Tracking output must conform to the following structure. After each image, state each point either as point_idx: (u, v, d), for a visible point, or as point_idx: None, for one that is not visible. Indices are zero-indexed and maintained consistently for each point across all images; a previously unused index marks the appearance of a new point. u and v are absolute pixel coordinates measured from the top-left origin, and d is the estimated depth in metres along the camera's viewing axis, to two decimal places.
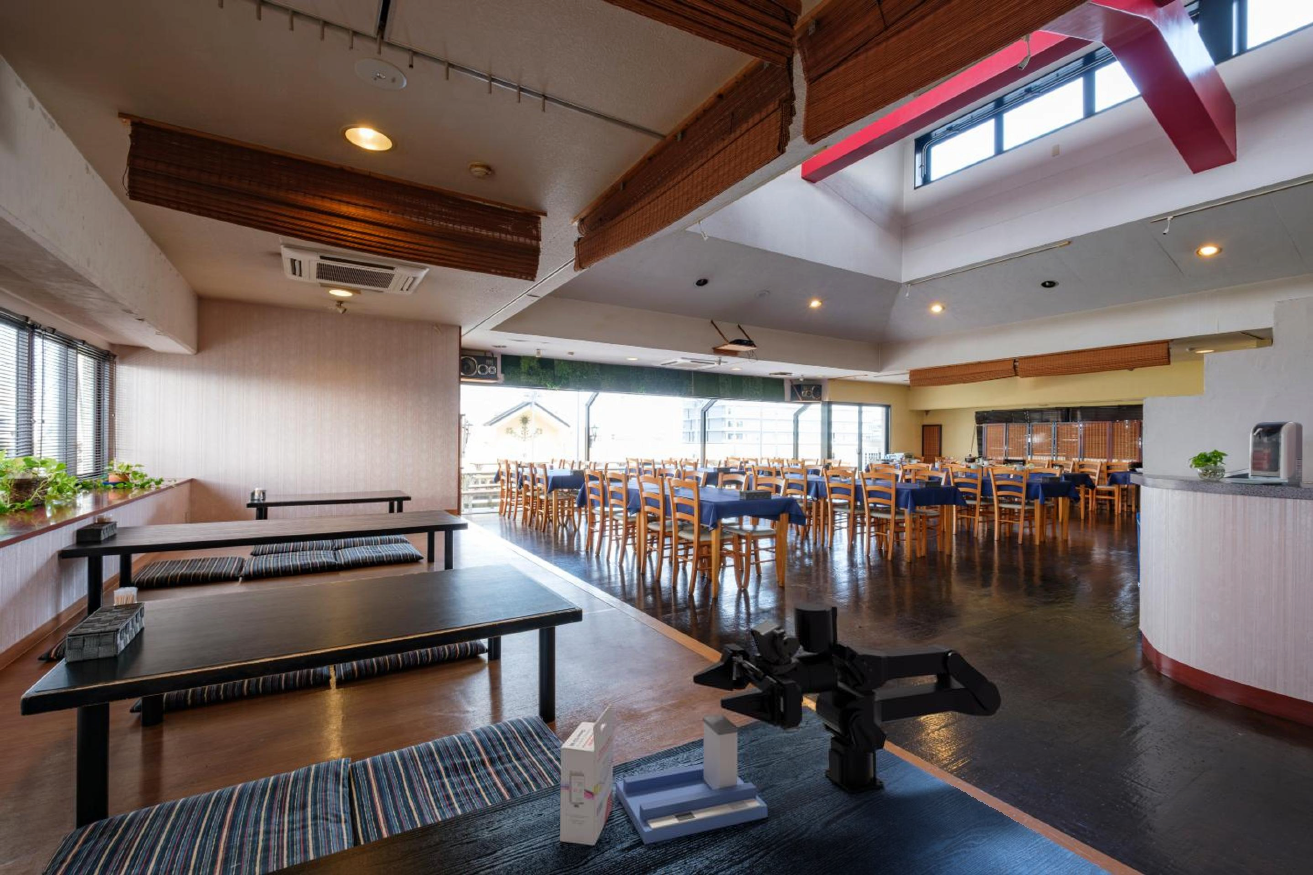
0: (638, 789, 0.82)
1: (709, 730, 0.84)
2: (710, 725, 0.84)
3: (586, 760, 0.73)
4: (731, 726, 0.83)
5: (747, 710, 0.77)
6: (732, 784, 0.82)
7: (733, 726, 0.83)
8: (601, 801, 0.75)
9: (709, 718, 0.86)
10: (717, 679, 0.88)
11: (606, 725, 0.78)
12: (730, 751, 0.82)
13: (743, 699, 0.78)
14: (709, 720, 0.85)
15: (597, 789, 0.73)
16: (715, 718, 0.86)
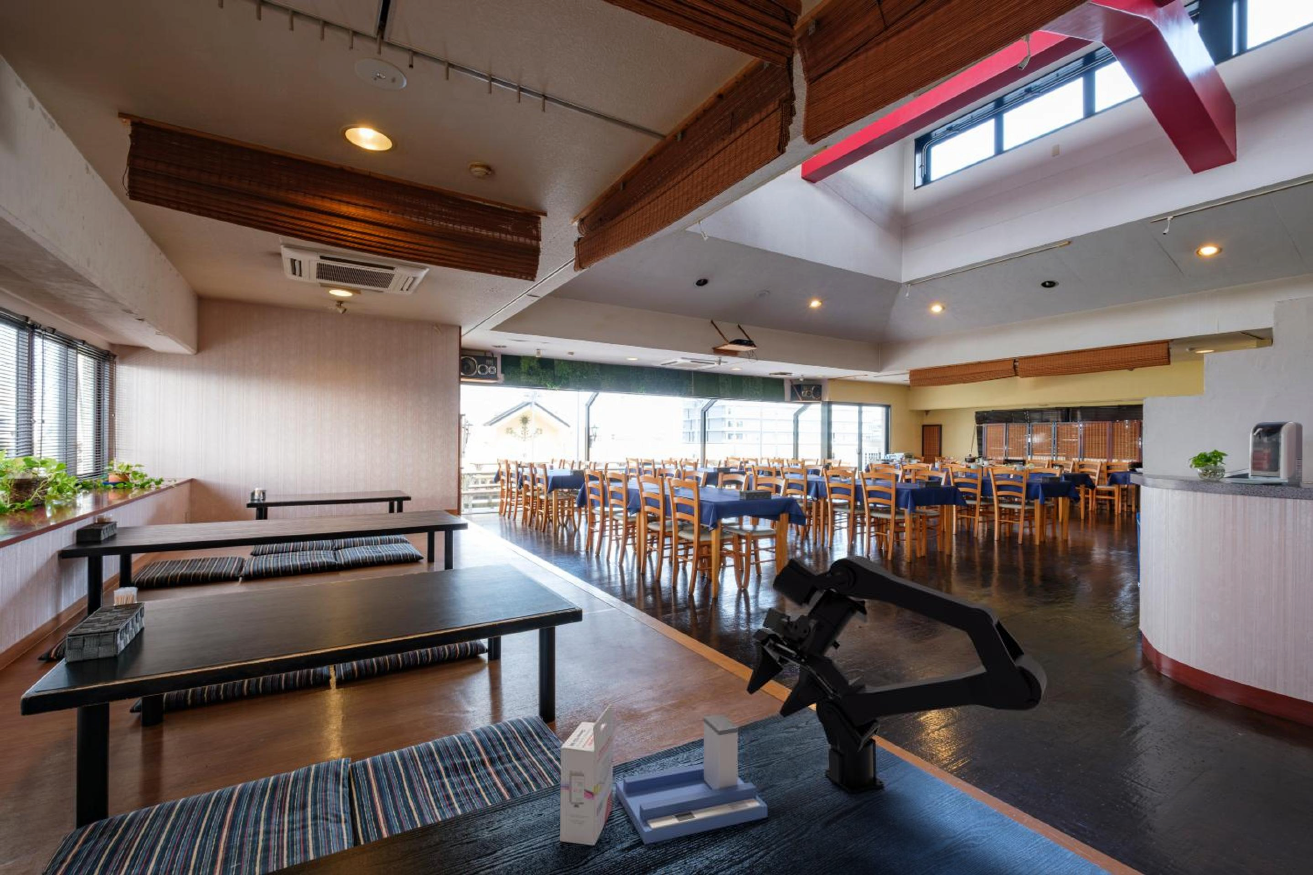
0: (638, 789, 0.82)
1: (709, 730, 0.84)
2: (710, 725, 0.84)
3: (586, 760, 0.73)
4: (731, 726, 0.83)
5: (804, 703, 0.83)
6: (732, 784, 0.82)
7: (733, 726, 0.83)
8: (601, 801, 0.75)
9: (709, 718, 0.86)
10: (766, 674, 0.93)
11: (606, 725, 0.78)
12: (730, 751, 0.82)
13: (795, 699, 0.83)
14: (709, 720, 0.85)
15: (597, 789, 0.73)
16: (715, 718, 0.86)
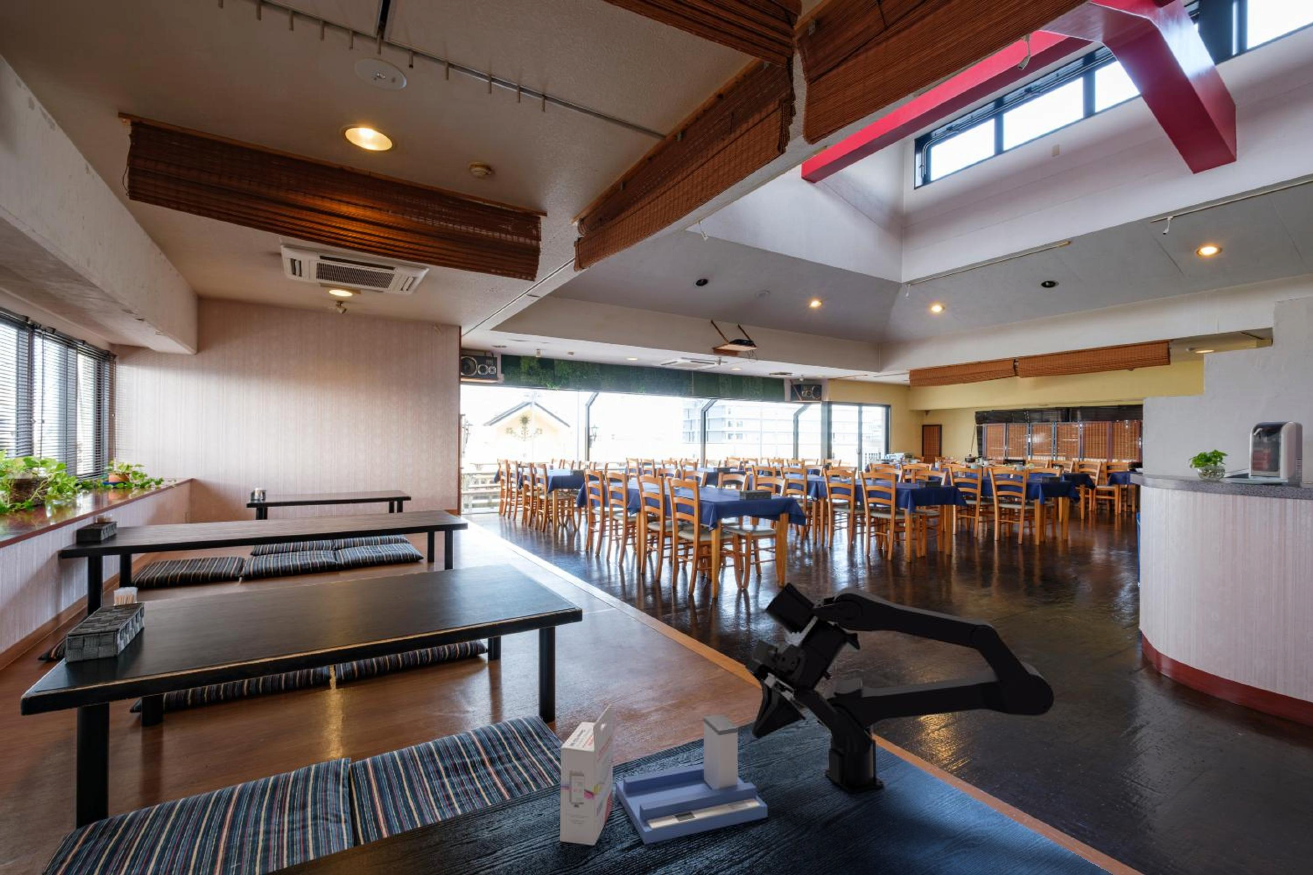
0: (638, 789, 0.82)
1: (709, 730, 0.84)
2: (710, 725, 0.84)
3: (586, 760, 0.73)
4: (731, 726, 0.83)
5: (777, 725, 0.87)
6: (732, 784, 0.82)
7: (733, 726, 0.83)
8: (601, 801, 0.75)
9: (709, 718, 0.86)
10: None
11: (606, 725, 0.78)
12: (730, 751, 0.82)
13: (768, 721, 0.86)
14: (709, 720, 0.85)
15: (597, 789, 0.73)
16: (715, 718, 0.86)
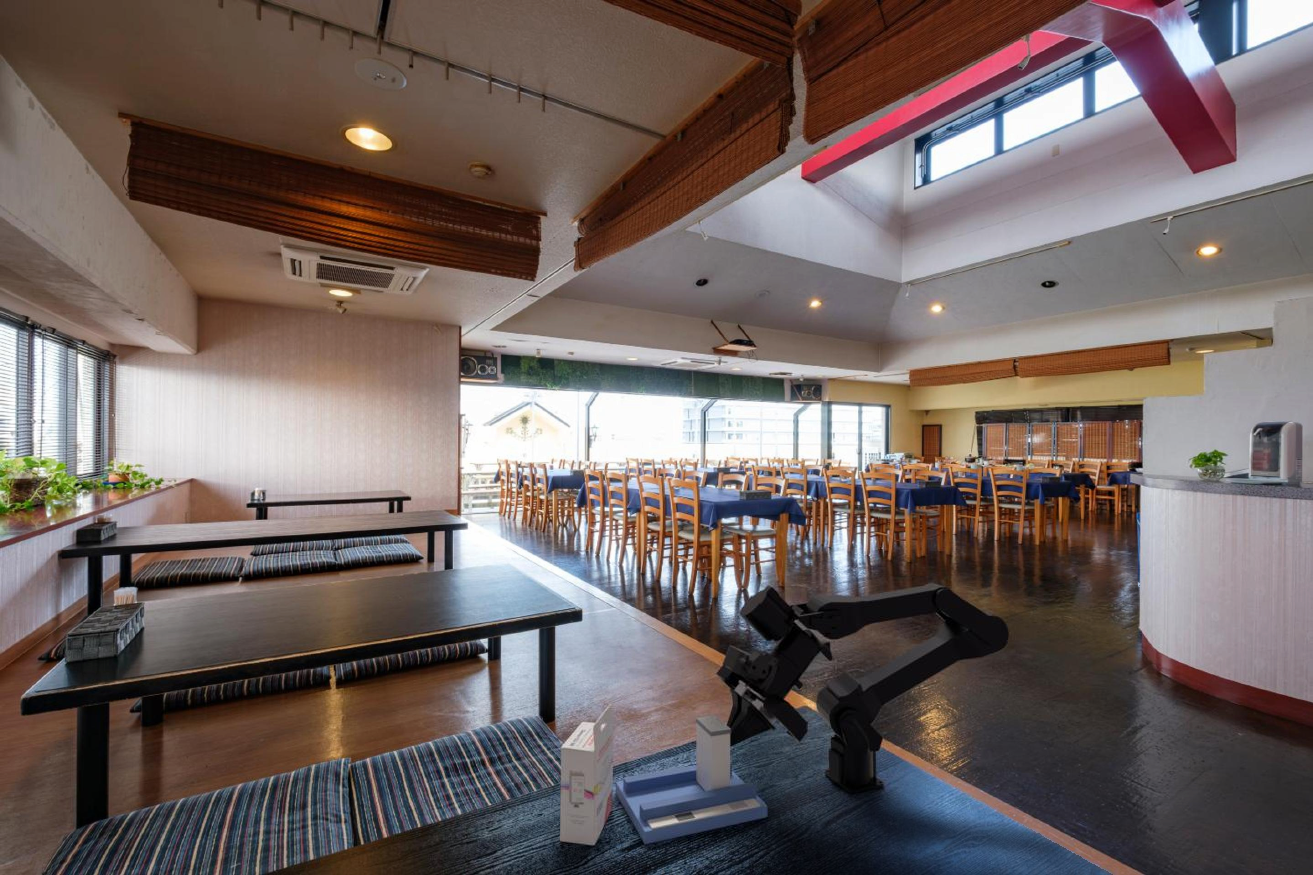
0: (638, 789, 0.82)
1: (702, 731, 0.84)
2: (703, 726, 0.83)
3: (586, 760, 0.73)
4: (723, 727, 0.82)
5: (746, 734, 0.84)
6: (725, 785, 0.81)
7: (725, 727, 0.83)
8: (601, 801, 0.75)
9: (702, 719, 0.85)
10: None
11: (606, 725, 0.78)
12: (723, 752, 0.82)
13: (737, 730, 0.84)
14: (701, 721, 0.84)
15: (597, 789, 0.73)
16: (708, 719, 0.85)
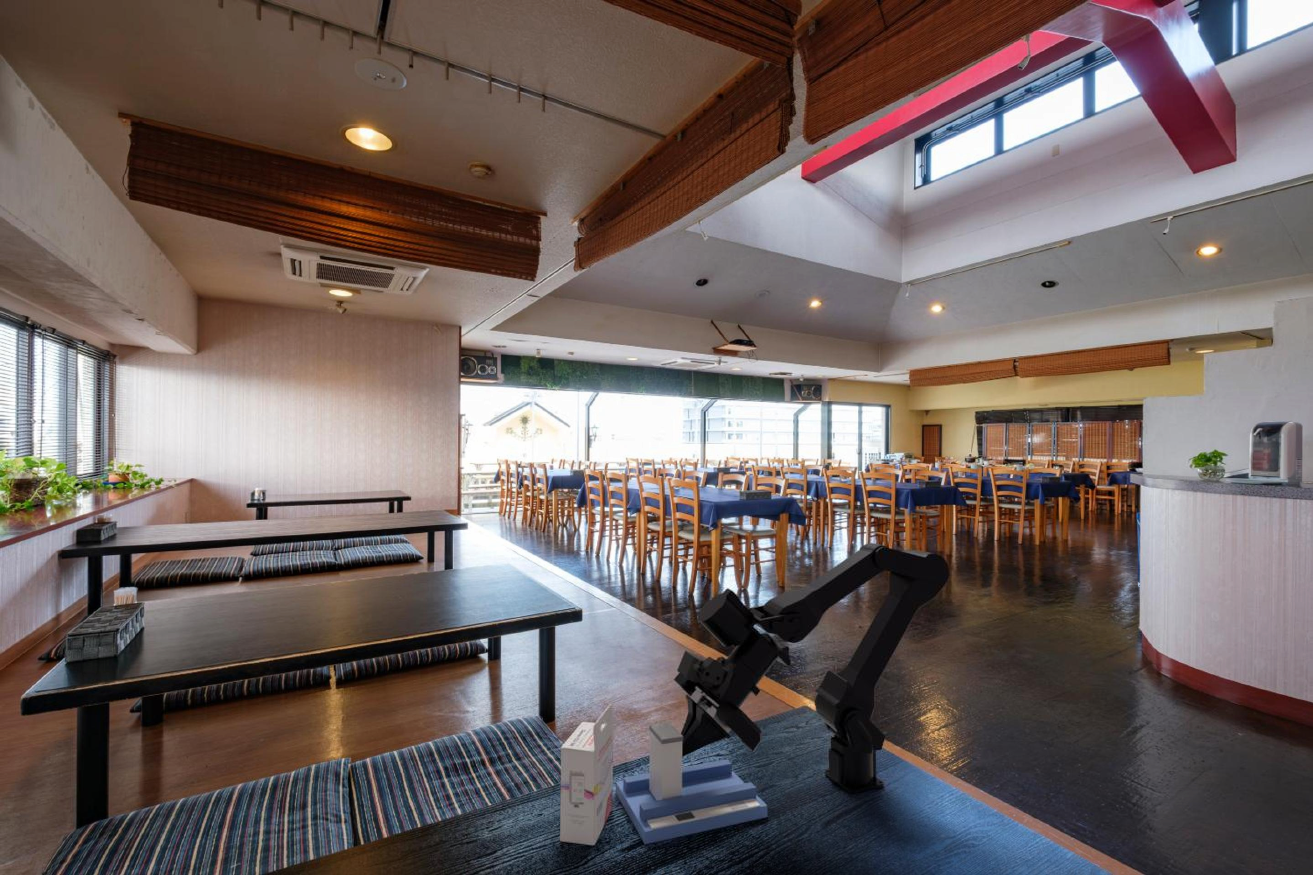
0: (638, 789, 0.82)
1: (654, 739, 0.81)
2: (655, 733, 0.81)
3: (586, 760, 0.73)
4: (675, 735, 0.80)
5: (700, 743, 0.82)
6: (676, 795, 0.79)
7: (678, 734, 0.80)
8: (601, 801, 0.75)
9: (655, 726, 0.83)
10: None
11: (606, 725, 0.78)
12: (674, 761, 0.79)
13: (691, 739, 0.81)
14: (654, 728, 0.82)
15: (597, 789, 0.73)
16: (661, 726, 0.83)
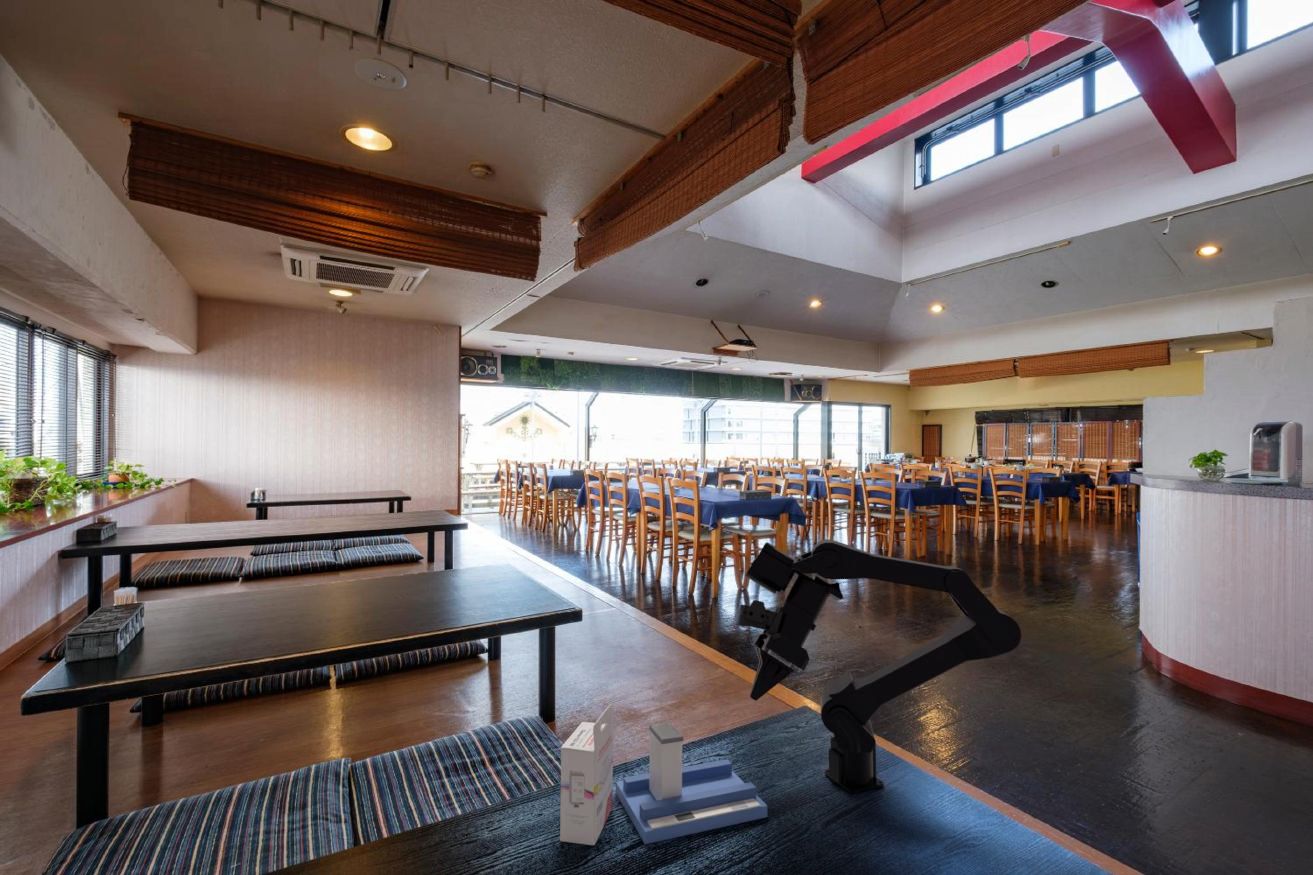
0: (638, 789, 0.82)
1: (654, 739, 0.81)
2: (655, 733, 0.81)
3: (586, 760, 0.73)
4: (675, 735, 0.80)
5: (769, 683, 0.88)
6: (676, 795, 0.79)
7: (678, 734, 0.80)
8: (601, 801, 0.75)
9: (655, 726, 0.83)
10: None
11: (606, 725, 0.78)
12: (674, 761, 0.79)
13: (759, 680, 0.88)
14: (654, 728, 0.82)
15: (597, 789, 0.73)
16: (661, 726, 0.83)
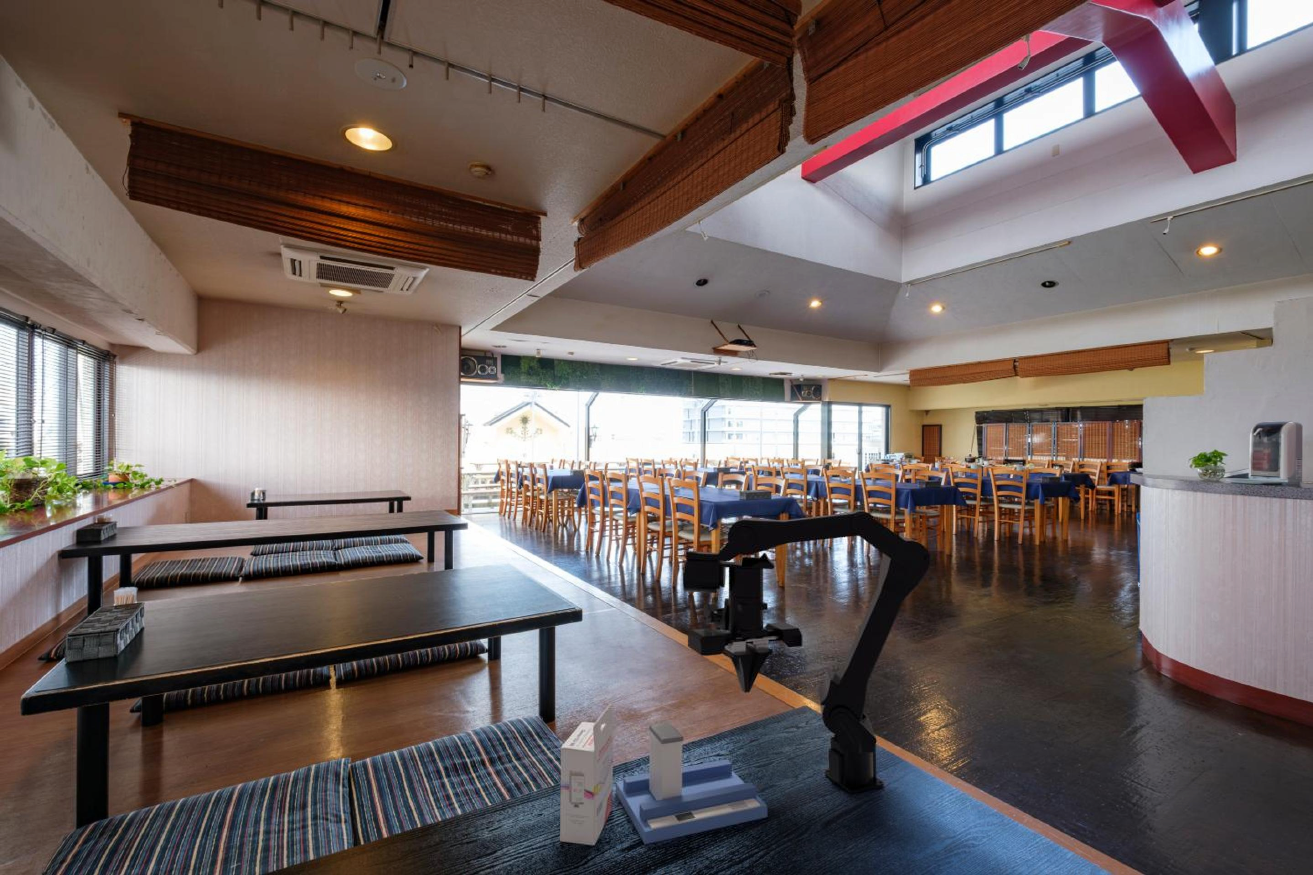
0: (638, 789, 0.82)
1: (654, 739, 0.81)
2: (655, 733, 0.81)
3: (586, 760, 0.73)
4: (675, 735, 0.80)
5: (741, 673, 0.92)
6: (676, 795, 0.79)
7: (678, 734, 0.80)
8: (601, 801, 0.75)
9: (655, 726, 0.83)
10: (749, 667, 0.93)
11: (606, 725, 0.78)
12: (674, 761, 0.79)
13: (737, 673, 0.94)
14: (654, 728, 0.82)
15: (597, 789, 0.73)
16: (661, 726, 0.83)
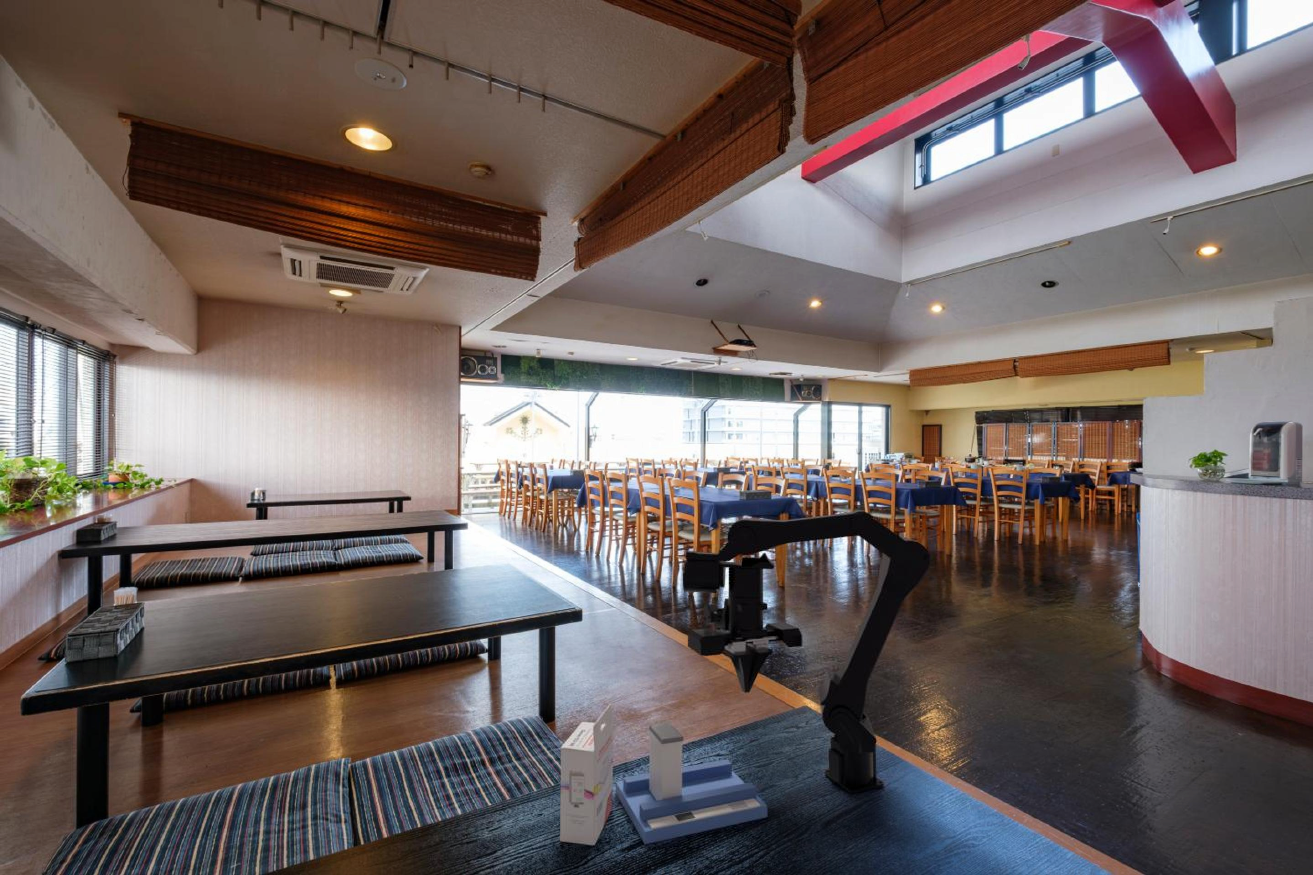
0: (638, 789, 0.82)
1: (654, 739, 0.81)
2: (655, 733, 0.81)
3: (586, 760, 0.73)
4: (675, 735, 0.80)
5: (741, 673, 0.92)
6: (676, 795, 0.79)
7: (678, 734, 0.80)
8: (601, 801, 0.75)
9: (655, 726, 0.83)
10: (749, 667, 0.93)
11: (606, 725, 0.78)
12: (674, 761, 0.79)
13: (737, 673, 0.94)
14: (654, 728, 0.82)
15: (597, 789, 0.73)
16: (661, 726, 0.83)
